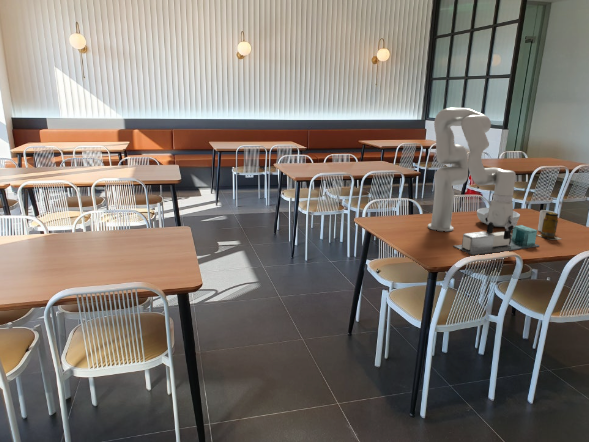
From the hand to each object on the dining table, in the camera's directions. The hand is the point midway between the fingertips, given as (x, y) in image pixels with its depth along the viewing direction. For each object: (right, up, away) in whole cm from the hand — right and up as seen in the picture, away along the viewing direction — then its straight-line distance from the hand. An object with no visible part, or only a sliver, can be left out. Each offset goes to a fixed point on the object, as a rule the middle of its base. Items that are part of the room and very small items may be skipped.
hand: (498, 235), depth 195 cm
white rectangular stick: (-5, -4, 0) cm, 7 cm away
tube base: (+1, -5, +2) cm, 6 cm away
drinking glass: (+37, +2, +29) cm, 47 cm away
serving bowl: (+17, +5, +38) cm, 42 cm away
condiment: (+34, -2, +18) cm, 38 cm away
